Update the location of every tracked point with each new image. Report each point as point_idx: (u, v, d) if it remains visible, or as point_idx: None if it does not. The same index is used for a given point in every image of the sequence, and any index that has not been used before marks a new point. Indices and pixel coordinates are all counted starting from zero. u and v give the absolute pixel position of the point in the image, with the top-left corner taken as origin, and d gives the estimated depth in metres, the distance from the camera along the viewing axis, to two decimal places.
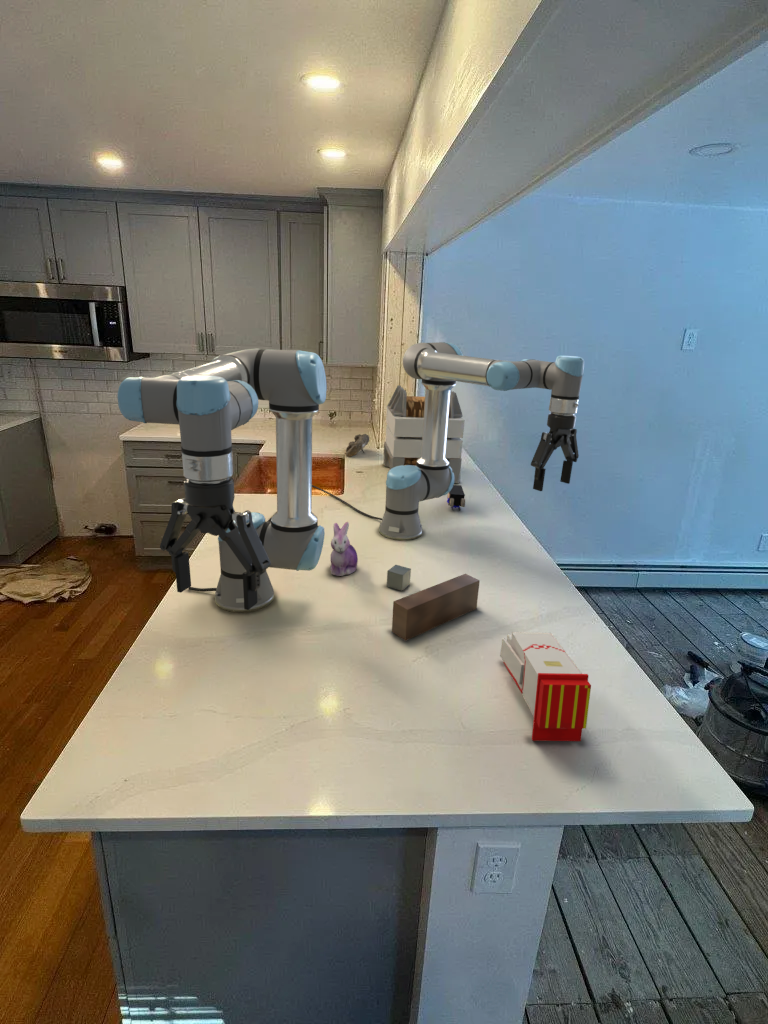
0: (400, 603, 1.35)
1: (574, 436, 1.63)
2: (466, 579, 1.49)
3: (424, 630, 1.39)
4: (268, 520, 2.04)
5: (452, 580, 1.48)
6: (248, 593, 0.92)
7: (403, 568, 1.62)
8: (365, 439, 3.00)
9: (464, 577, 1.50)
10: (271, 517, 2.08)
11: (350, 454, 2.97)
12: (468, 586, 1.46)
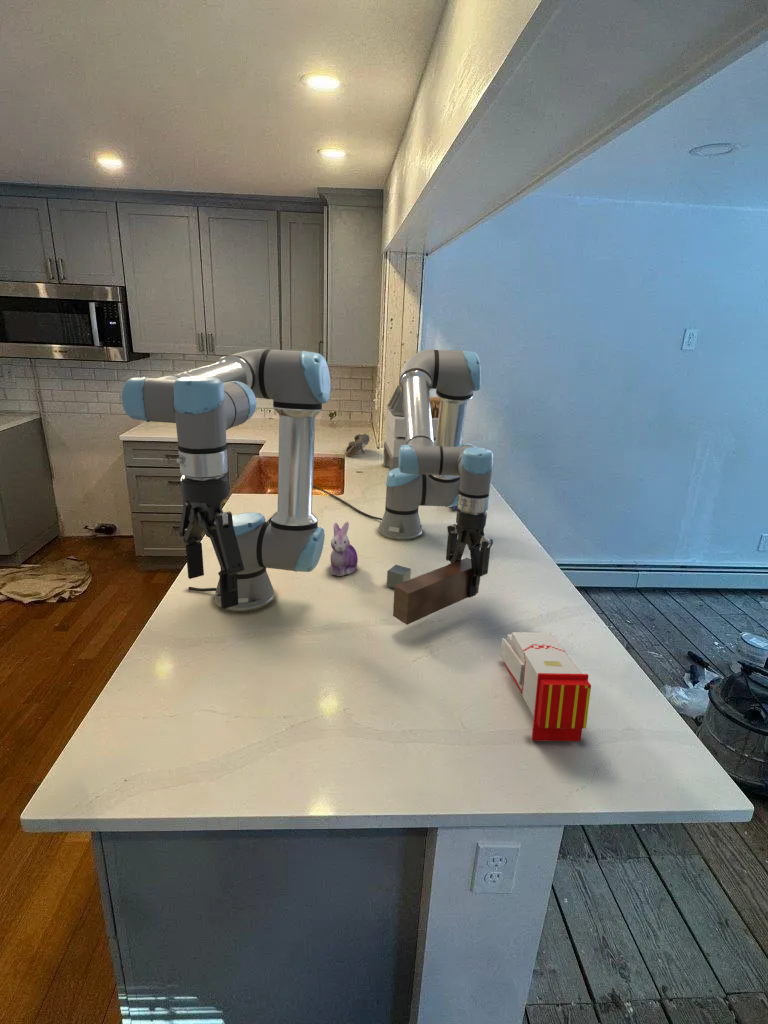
0: (401, 587, 1.35)
1: (482, 547, 1.41)
2: (467, 562, 1.48)
3: (425, 614, 1.39)
4: (268, 520, 2.04)
5: (454, 564, 1.47)
6: (224, 593, 0.93)
7: (403, 568, 1.62)
8: (365, 439, 3.00)
9: (466, 561, 1.49)
10: (271, 517, 2.08)
11: (350, 454, 2.97)
12: (470, 570, 1.45)
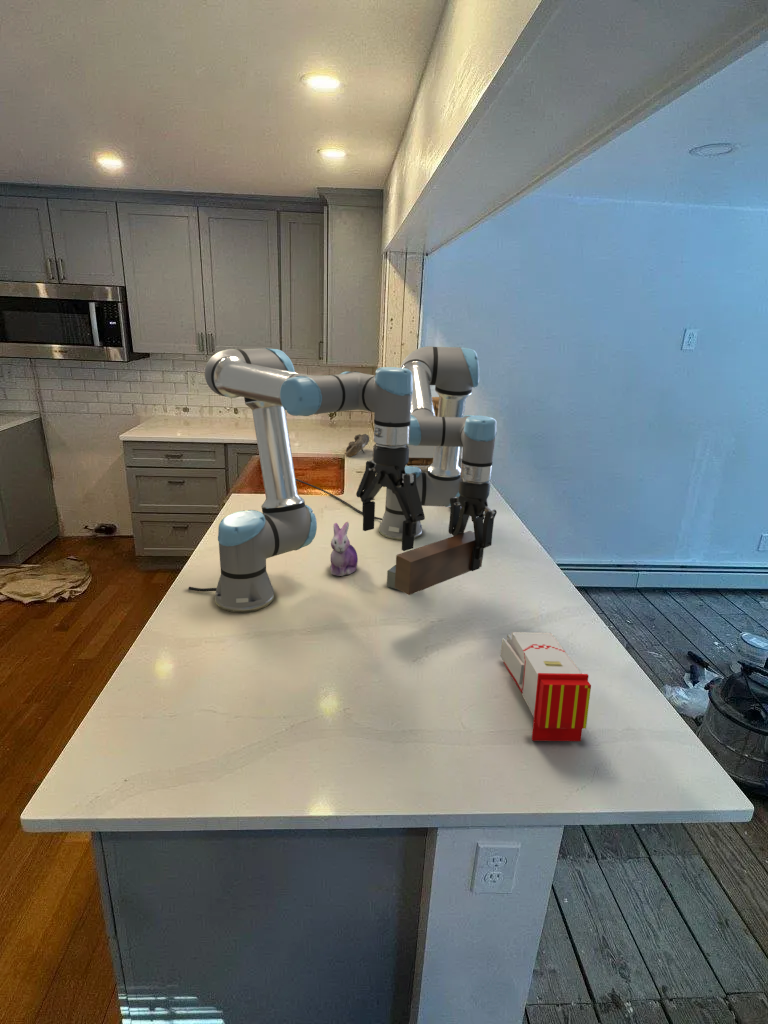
0: (403, 556, 1.31)
1: (485, 518, 1.38)
2: (470, 535, 1.45)
3: (428, 585, 1.35)
4: None
5: (456, 536, 1.44)
6: (406, 538, 1.18)
7: None
8: (365, 439, 3.00)
9: (469, 534, 1.46)
10: None
11: (350, 454, 2.97)
12: (473, 542, 1.42)
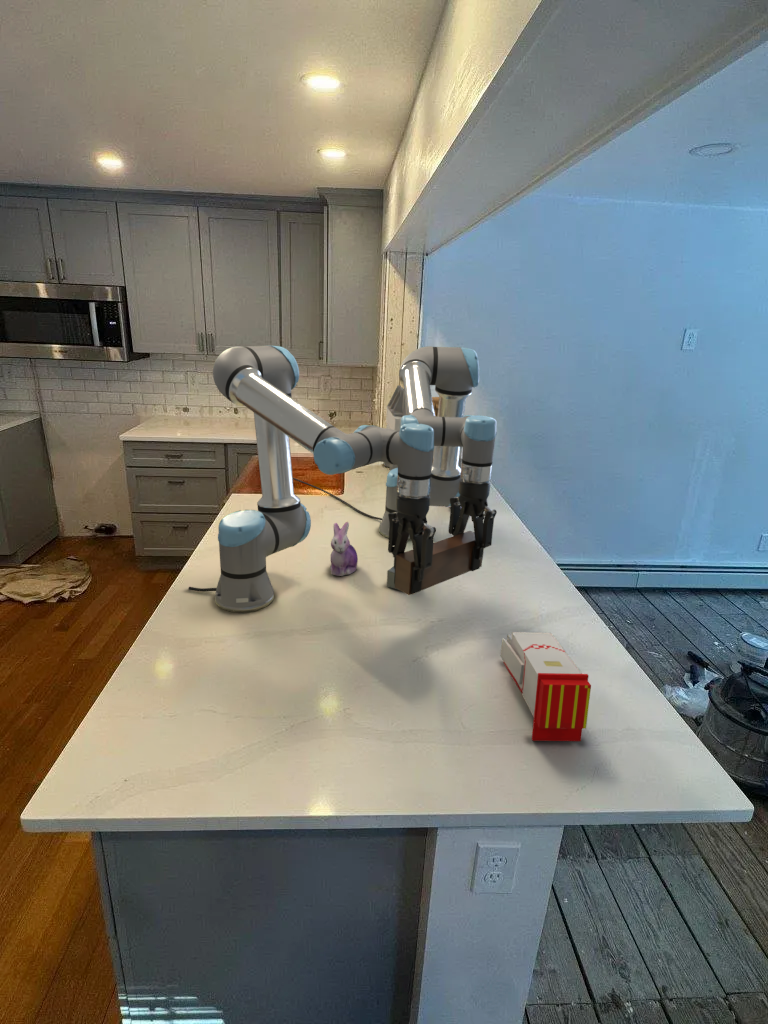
0: (403, 556, 1.31)
1: (485, 518, 1.38)
2: (470, 535, 1.45)
3: (428, 585, 1.35)
4: None
5: (456, 536, 1.44)
6: (414, 582, 1.31)
7: None
8: None
9: (469, 534, 1.46)
10: None
11: None
12: (473, 542, 1.42)
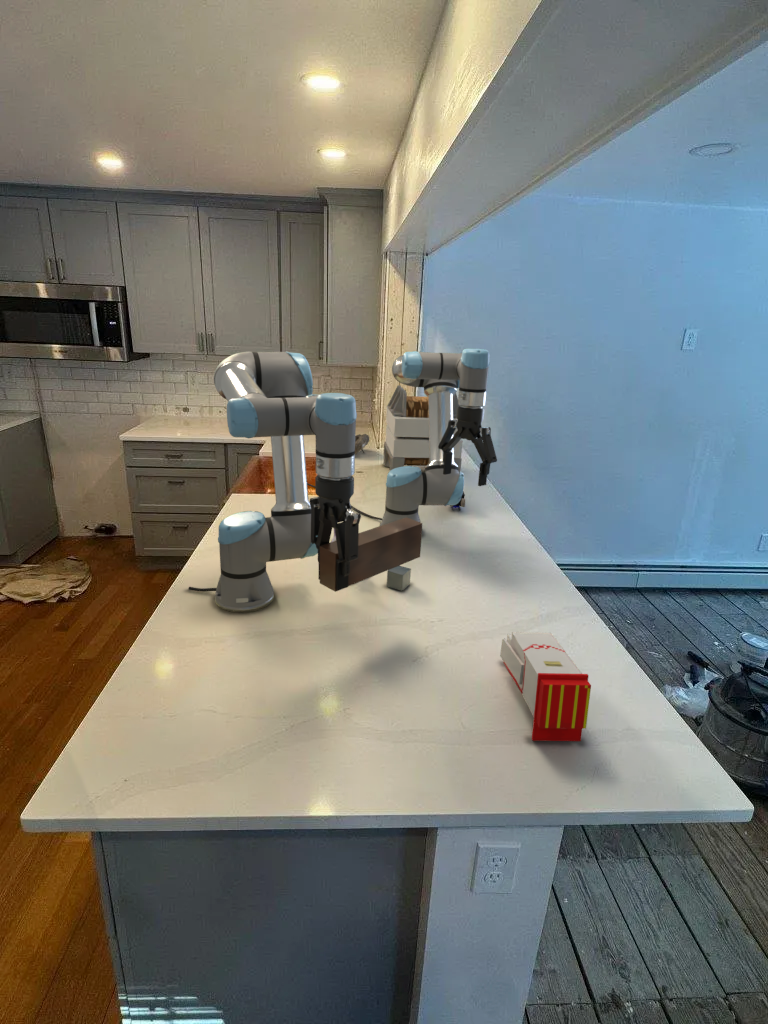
0: (327, 547, 1.15)
1: (482, 435, 1.55)
2: (406, 522, 1.30)
3: (358, 580, 1.19)
4: None
5: (391, 524, 1.28)
6: (339, 577, 1.14)
7: (403, 568, 1.62)
8: (365, 439, 3.00)
9: (405, 521, 1.31)
10: None
11: None
12: (409, 529, 1.27)
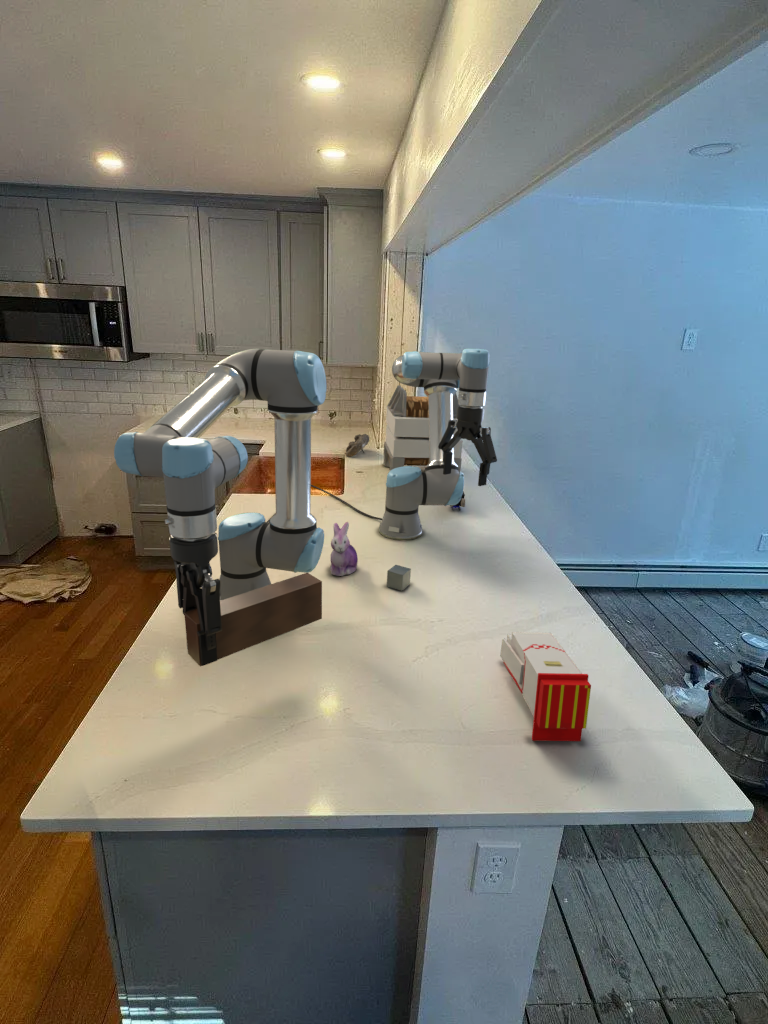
0: (192, 615, 0.98)
1: (482, 435, 1.55)
2: (304, 579, 1.12)
3: (233, 651, 1.02)
4: (268, 520, 2.04)
5: (284, 582, 1.11)
6: (203, 650, 0.97)
7: (403, 568, 1.62)
8: (365, 439, 3.00)
9: (303, 577, 1.13)
10: None
11: (350, 454, 2.97)
12: (303, 589, 1.09)
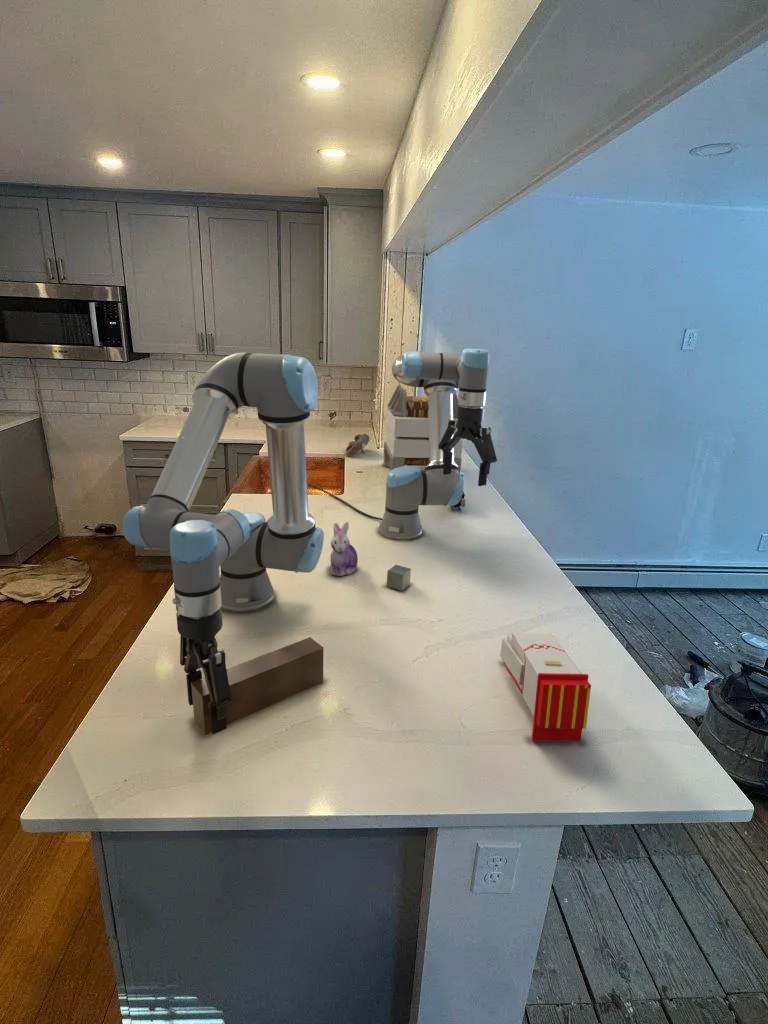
0: (198, 686, 1.03)
1: (482, 435, 1.55)
2: (306, 645, 1.17)
3: (237, 718, 1.07)
4: (268, 520, 2.04)
5: (287, 648, 1.16)
6: (214, 720, 1.00)
7: (403, 568, 1.62)
8: (365, 439, 3.00)
9: (305, 643, 1.18)
10: None
11: (350, 454, 2.97)
12: (305, 656, 1.14)
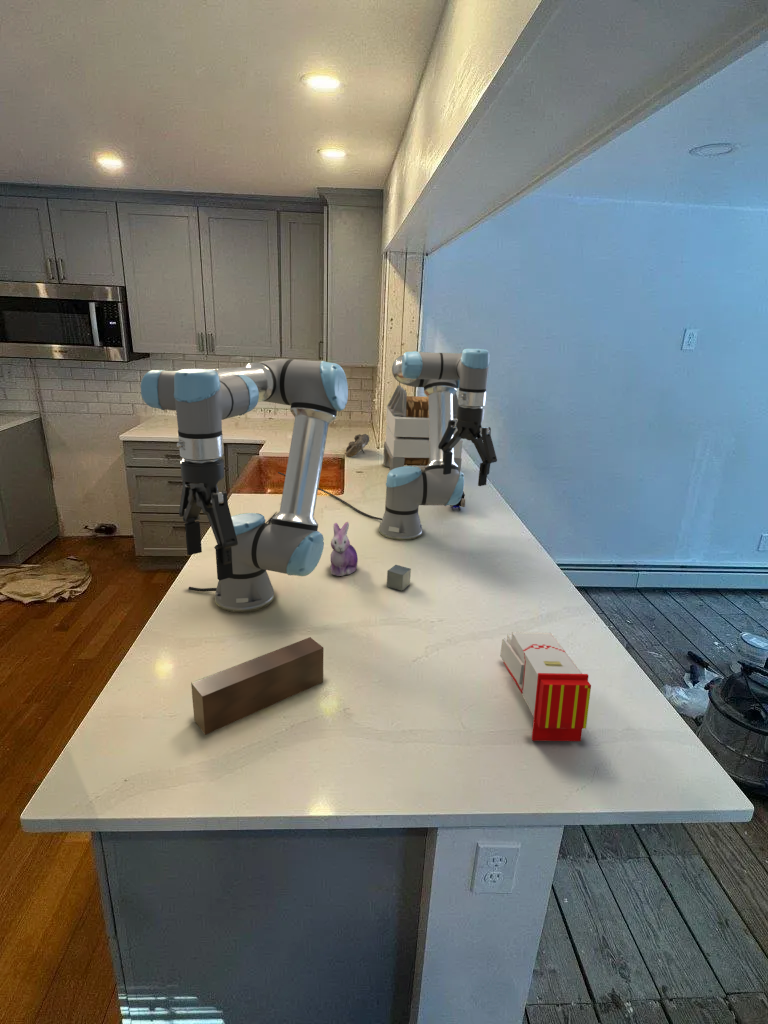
0: (198, 686, 1.03)
1: (482, 435, 1.55)
2: (306, 645, 1.17)
3: (237, 718, 1.07)
4: (268, 520, 2.04)
5: (287, 648, 1.16)
6: (220, 565, 1.03)
7: (403, 568, 1.62)
8: (365, 439, 3.00)
9: (305, 643, 1.18)
10: (271, 517, 2.08)
11: (350, 454, 2.97)
12: (305, 656, 1.14)
